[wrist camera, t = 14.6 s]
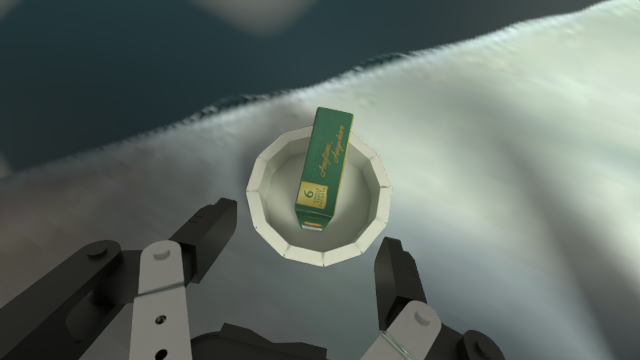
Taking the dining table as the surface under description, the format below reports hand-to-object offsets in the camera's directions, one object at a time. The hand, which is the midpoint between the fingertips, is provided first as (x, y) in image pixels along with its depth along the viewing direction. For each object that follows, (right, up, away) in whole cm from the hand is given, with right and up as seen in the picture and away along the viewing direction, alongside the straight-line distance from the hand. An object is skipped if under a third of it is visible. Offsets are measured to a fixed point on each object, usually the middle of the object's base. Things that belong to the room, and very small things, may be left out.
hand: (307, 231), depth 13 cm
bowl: (+1, 0, +17) cm, 17 cm away
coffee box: (+1, 0, +16) cm, 16 cm away
